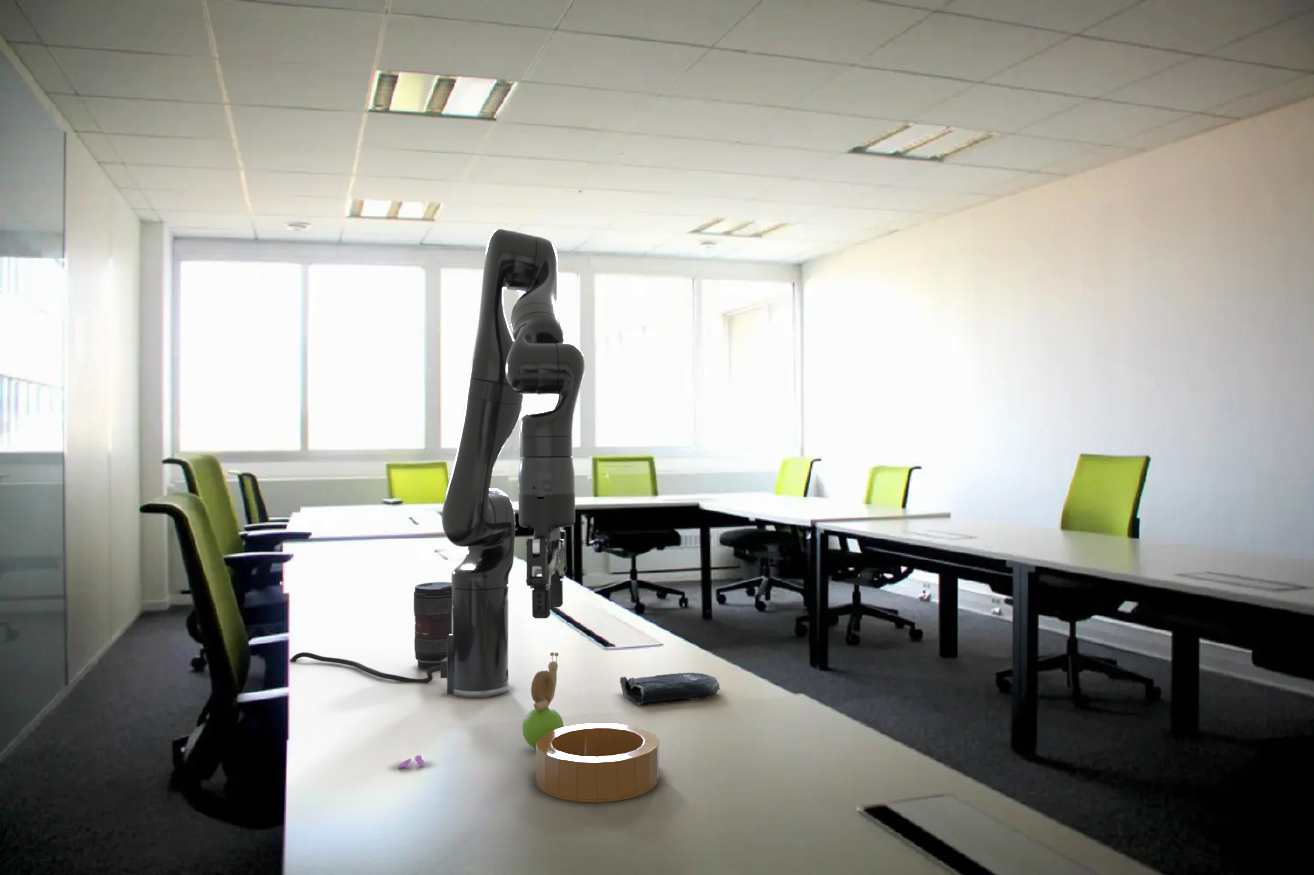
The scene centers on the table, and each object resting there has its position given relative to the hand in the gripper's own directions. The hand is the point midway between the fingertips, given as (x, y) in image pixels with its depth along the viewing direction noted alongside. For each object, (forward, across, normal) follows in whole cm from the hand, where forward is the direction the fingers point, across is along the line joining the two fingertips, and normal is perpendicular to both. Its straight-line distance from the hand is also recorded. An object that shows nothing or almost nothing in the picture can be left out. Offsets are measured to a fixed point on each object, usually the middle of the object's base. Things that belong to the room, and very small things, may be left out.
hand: (548, 612), depth 122 cm
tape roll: (+18, +11, +8) cm, 23 cm away
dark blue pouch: (+18, -27, +15) cm, 35 cm away
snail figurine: (+18, 0, -1) cm, 18 cm away
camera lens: (+18, -43, -30) cm, 55 cm away
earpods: (+18, +9, -16) cm, 26 cm away
